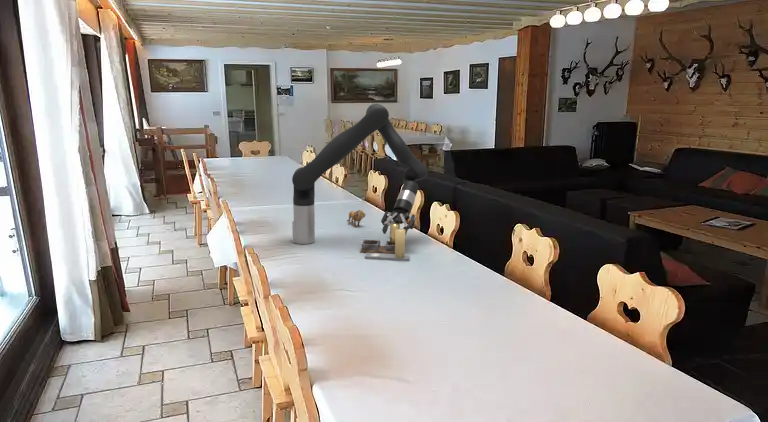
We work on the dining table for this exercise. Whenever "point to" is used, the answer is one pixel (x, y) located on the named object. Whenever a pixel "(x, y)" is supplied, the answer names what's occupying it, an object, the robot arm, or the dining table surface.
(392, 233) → the brass pin
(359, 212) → the lion figurine
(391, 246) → the double bowl tray
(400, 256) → the plate
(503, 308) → the dining table surface
